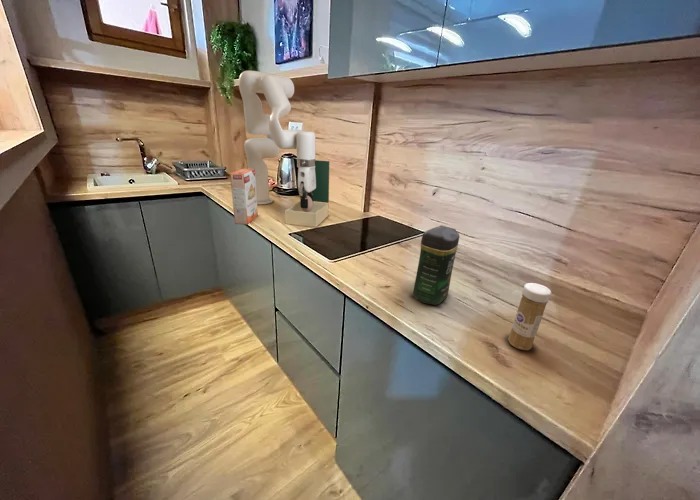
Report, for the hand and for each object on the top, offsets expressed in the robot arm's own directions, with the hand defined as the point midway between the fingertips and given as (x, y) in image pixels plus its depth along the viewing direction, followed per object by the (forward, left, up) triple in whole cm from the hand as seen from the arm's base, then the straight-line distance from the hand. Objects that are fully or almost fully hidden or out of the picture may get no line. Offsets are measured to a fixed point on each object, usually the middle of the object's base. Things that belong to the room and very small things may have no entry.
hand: (306, 205), depth 132 cm
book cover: (0, +9, +9) cm, 13 cm away
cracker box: (-24, -9, -7) cm, 26 cm away
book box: (0, +1, -6) cm, 7 cm away
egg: (0, 0, -3) cm, 3 cm away
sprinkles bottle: (+71, -64, -7) cm, 96 cm away
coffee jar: (+53, -50, -7) cm, 73 cm away
